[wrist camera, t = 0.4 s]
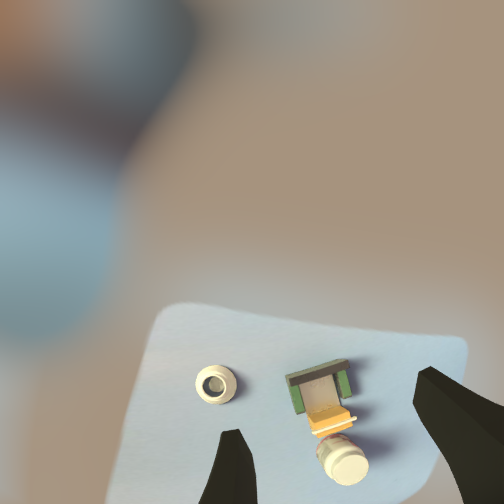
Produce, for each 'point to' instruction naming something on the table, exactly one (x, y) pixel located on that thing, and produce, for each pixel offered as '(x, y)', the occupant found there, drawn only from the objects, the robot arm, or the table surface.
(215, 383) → the white jar
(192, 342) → the table surface
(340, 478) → the pill bottle
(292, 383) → the grey drawer frame
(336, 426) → the orange block with lip
